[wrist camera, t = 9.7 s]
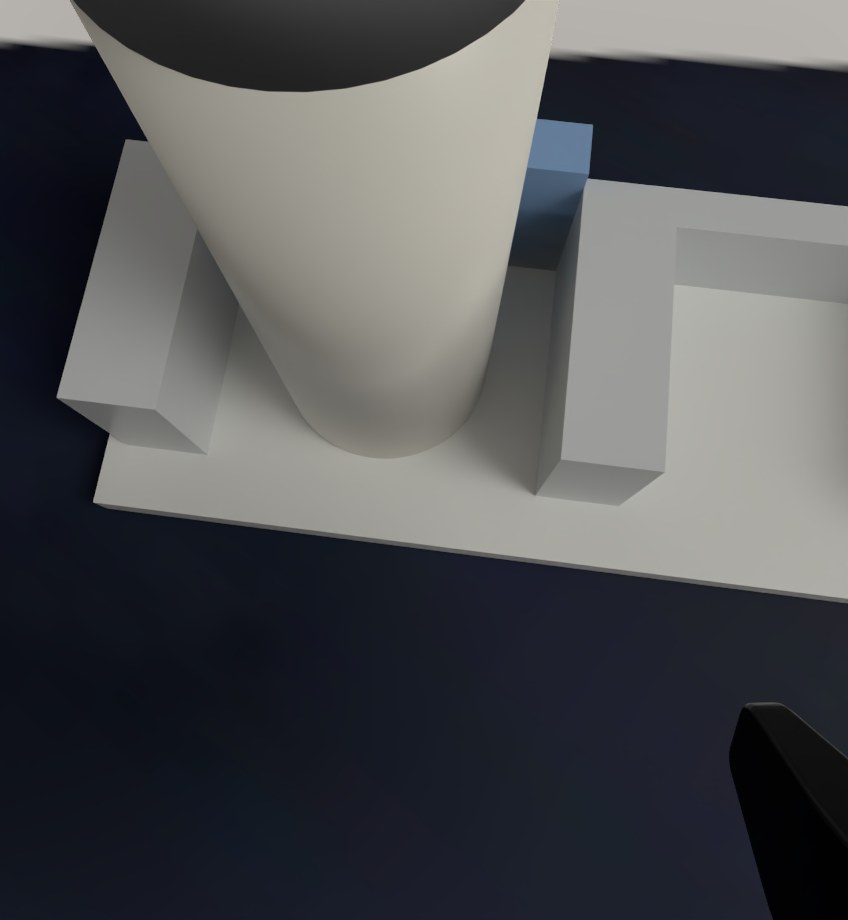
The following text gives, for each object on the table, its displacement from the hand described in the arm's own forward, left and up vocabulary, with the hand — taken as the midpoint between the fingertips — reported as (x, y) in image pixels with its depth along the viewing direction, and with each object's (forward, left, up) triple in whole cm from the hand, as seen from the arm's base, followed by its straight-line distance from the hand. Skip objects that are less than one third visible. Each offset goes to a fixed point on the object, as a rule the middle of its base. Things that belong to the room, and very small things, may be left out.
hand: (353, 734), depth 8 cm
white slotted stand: (+8, +3, -9) cm, 12 cm away
